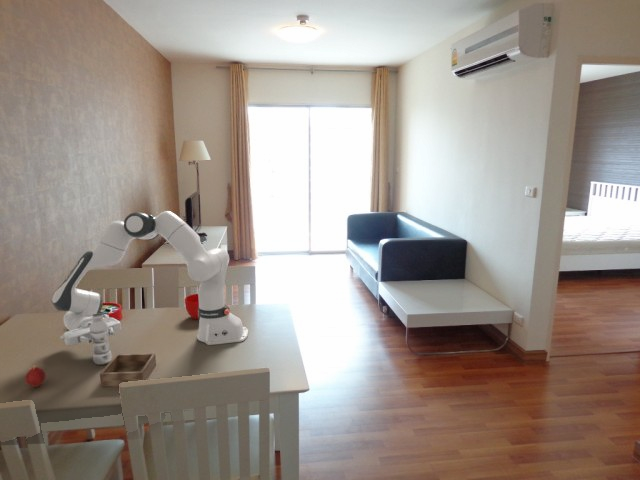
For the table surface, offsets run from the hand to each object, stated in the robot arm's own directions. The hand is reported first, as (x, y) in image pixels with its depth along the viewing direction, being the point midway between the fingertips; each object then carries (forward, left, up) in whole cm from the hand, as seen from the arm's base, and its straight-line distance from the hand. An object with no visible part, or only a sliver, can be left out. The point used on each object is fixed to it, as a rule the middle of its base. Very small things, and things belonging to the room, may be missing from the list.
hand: (101, 337), depth 164 cm
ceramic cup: (-28, -48, -11) cm, 57 cm away
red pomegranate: (+17, +15, -11) cm, 25 cm away
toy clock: (+20, -45, -12) cm, 50 cm away
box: (-13, +10, -11) cm, 20 cm away
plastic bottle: (+1, -1, -11) cm, 11 cm away
